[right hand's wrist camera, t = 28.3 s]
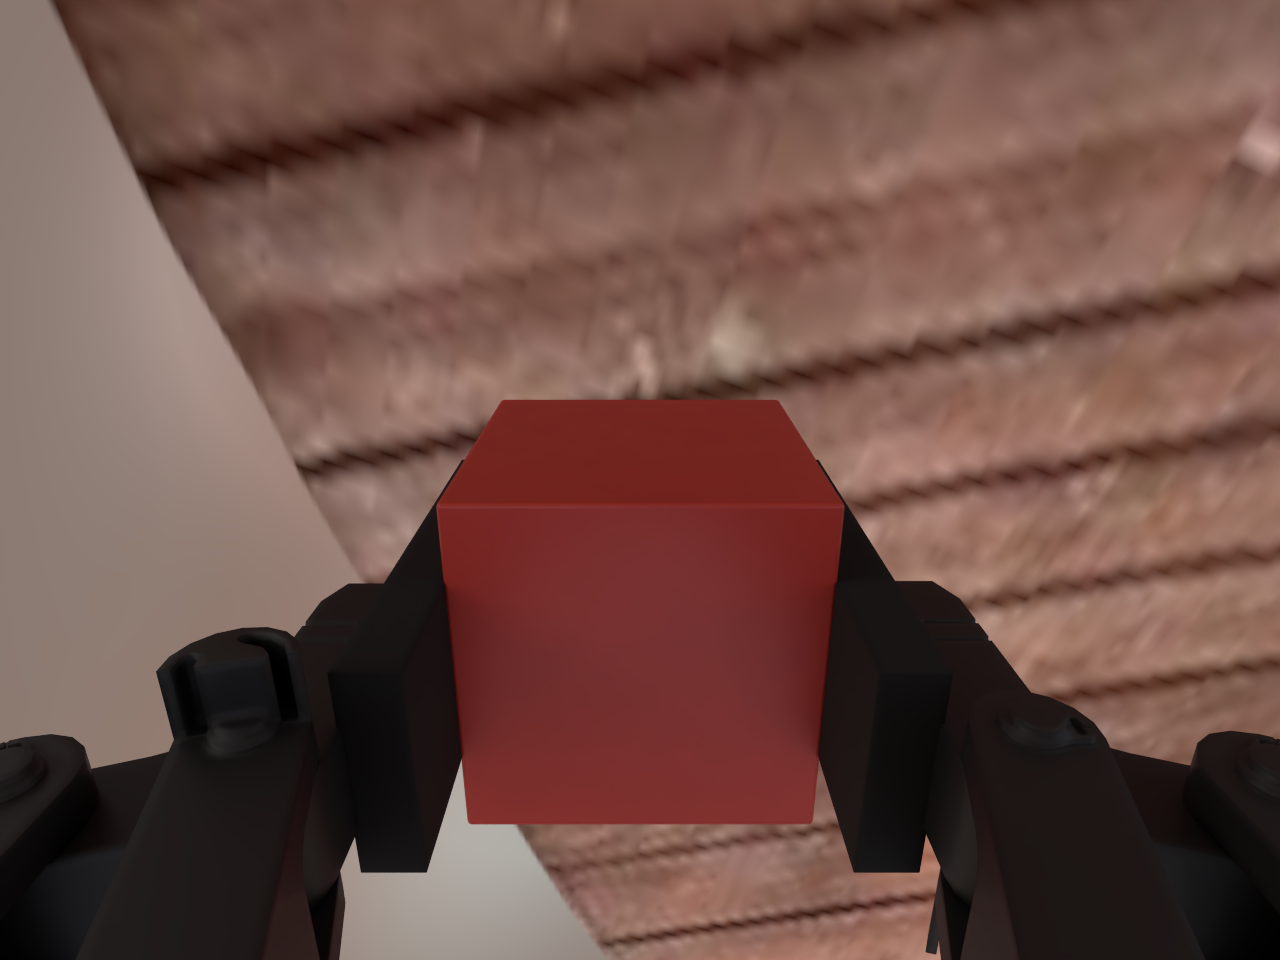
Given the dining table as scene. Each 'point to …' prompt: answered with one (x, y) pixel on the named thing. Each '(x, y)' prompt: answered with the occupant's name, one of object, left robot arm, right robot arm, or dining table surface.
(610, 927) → the dining table surface
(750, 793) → the block
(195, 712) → the right robot arm
